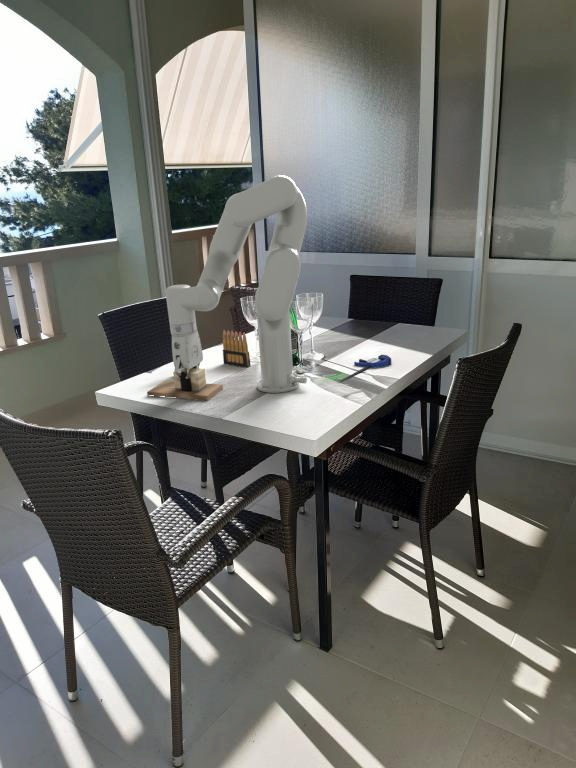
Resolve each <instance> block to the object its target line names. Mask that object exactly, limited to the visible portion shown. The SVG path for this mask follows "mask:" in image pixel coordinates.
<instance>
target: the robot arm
mask: <svg viewBox="0 0 576 768" xmlns="http://www.w3.org/2000/svg"><path fill="white" fill-rule="evenodd" d="M275 214H276V219H275V220H276V221H275V224H274V229H273V233H272V237H271V242H270V245H269V248H268V250H267V253H266V255H265V261H264V262H265V263H264V268H263V272H262V277H261V278H260V279H261V280H260V284H259V286H258V287H257V289H256V291H255V296H254V302H255V303H254V304H255V309H256V310H255V311H256V322H257V324H256V325H257V333H258V335H257V336H258V346H259V347H258V348H259V360H260V372H261V380H259V381H258V382H257V383H256V388H257V390H258V391H260V392H263V393H268V394H279V393H287V392H290V391H294V390H296V389H297V388H298V387H299V386H300V384H307V382H308V381H307V380H308V379H307V377H306V375H305V374H298V373H297V370H296V369H293V368H294V366H293V365H294V363H293V362H294V361H293V348H292V347H293V346H292V328H291V327H292V326H291V313H290V308H291V305H292V302H293V299H294V295H295V292H296V289H297V285H298V280H299V276H300V273H301V267H302V261H301V257H300V254H301V251H302V250H301V249H302V247H303V242H304V237H305V233H306V229H307V225H308V207H307V203H306V201H305V198H304V196H303V193H302V192H301V190H300V188H299V187H298V186H297V185H296V183H295V181H294V180H293V179H292V178H291V177H289V176H287V175H283V174H277V175H274V176H272V177H270V178H269V179H267V180H265V181H262V182H260V183H258V184H255V185H254V186H252V187H249V188H248V189H245V190H242V191H239V192H237V193H235V194H232V195H231V196H229V198H228V199H227V201H226V203H225V206H224V209H223V212H222V213H221V217H220V219H219V221H218V224H217V227H216V228H215V229H216V230H215V233H214V235H213V237H212V240H211V242H210V245H209V250H208V255H207V259H206V262H205V264H204V267H203V270H202V272H201V274H200V277H199V280H198V282H197V285H196V286H190V285H189V284H175V285H169V286H168V287H166V289H165V298H166V307H167V313H168V314H167V315H168V322H169V329H170V335H171V353H172V361H173V366H174V371H173V372H174V373H176V374H177V375H178V376H179V379H180V382H181V390H182V391H189V392H190V391H192V386H191V378H189V369H191V368H197V369H200V364H201V363H202V362H203V360H204V355H203V354H204V353H203V348H202V343H201V338H200V334H199V331H198V327H197V319H196V311H197V312H198V311H199V312H209V311H212V310H215V308H217V306H218V304H219V302H220V298H221V296H222V293H223V291H224V288H225V285H226V283H227V280H228V278H229V276H230V274H231V271H232V270H233V267H234V265H235V264H236V263H237V261H238V259H239V257H240V255H241V252H242V250H243V248H244V245H245V243H246V240H247V239H248V235H249V233H250V231H251V228H252V226H253V224H255V223H258V222H260V221H262V220H264V219H266V218H269V217H271V216H273V215H275ZM182 366H183V367H184V368H182ZM182 370H185V373H184V372H182Z"/></svg>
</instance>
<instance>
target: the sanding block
mask: <svg viewBox="0 0 576 768" xmlns="http://www.w3.org/2000/svg"><path fill="white" fill-rule="evenodd" d="M182 372H184V373H185V370H182ZM172 373H173V382H175V390H181V382H180V379H179V376H178V375H177V374H176V373H174V371H173V372H172ZM189 378H191V386H192V391H201V390H202V389H204V388H205V387H206V384H207V380H206V379H207V378H206V369H205V368H199V369H197V368H191V369H189Z"/></svg>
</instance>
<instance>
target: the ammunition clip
mask: <svg viewBox="0 0 576 768" xmlns="http://www.w3.org/2000/svg"><path fill="white" fill-rule="evenodd" d="M248 345H249V344H248V341H247V335H246V333H245V332H243V333H242V332H241V331H239V332H237V331H236V330H235V331H234V332H233V330H231V331H229V329H228V330H227V332H226V330H225V329H223V331H222V348H223V349H222V359H223V364H224V365H227V364H228V366H233V365H234V366H235V367H239V366H240V367H241V368H245V367H246V369H248V368H250V367H252V366H251V357H250V356H251V355H250V351H249V347H248ZM240 367H239V368H240Z"/></svg>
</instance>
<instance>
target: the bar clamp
mask: <svg viewBox="0 0 576 768" xmlns="http://www.w3.org/2000/svg"><path fill="white" fill-rule="evenodd" d="M353 365H354V366H356V367H362V368H361V369H359V370H357V371H355V372H353V373H352V374H350V375H348V376H347V377H344V378H343V379H341V380H339V381H337V382H336V383H337V384H340V383H343V382H344V381H347V380H350V379H351V378H352V377H353V378H354V377H355V376H356V375H358V374H360V373H361V372H363V371H365V370H367V369H376V368H384V367H387V366H390V365H392V358H391V356H388V355H387V354H380V355H379V356H378V357H377V358H375V357H372V358H369V359H367V360H365V359H362V358H359V359H358V361H354V364H353Z"/></svg>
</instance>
